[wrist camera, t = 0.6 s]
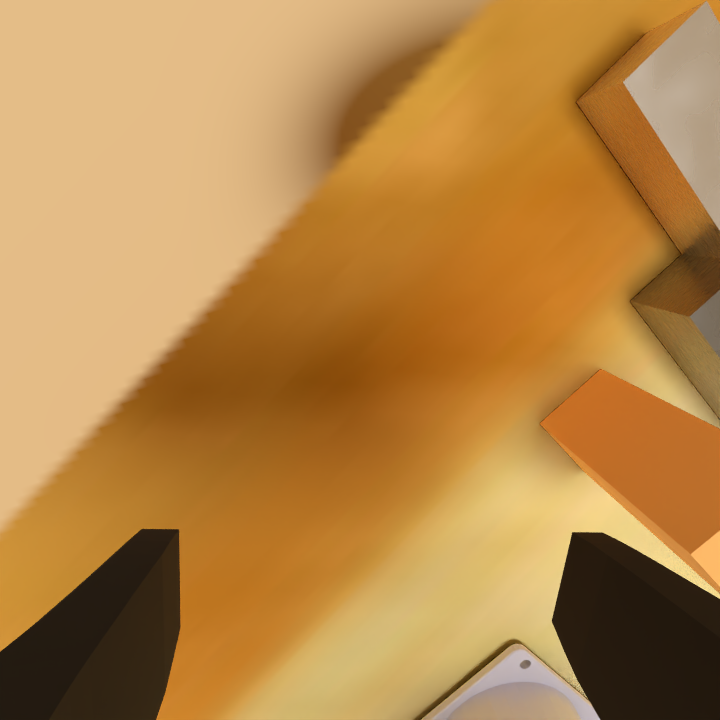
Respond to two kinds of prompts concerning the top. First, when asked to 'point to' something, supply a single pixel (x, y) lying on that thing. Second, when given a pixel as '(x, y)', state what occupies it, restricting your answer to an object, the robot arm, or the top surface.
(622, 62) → the bracket
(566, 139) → the top surface
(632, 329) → the top surface
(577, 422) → the square peg
